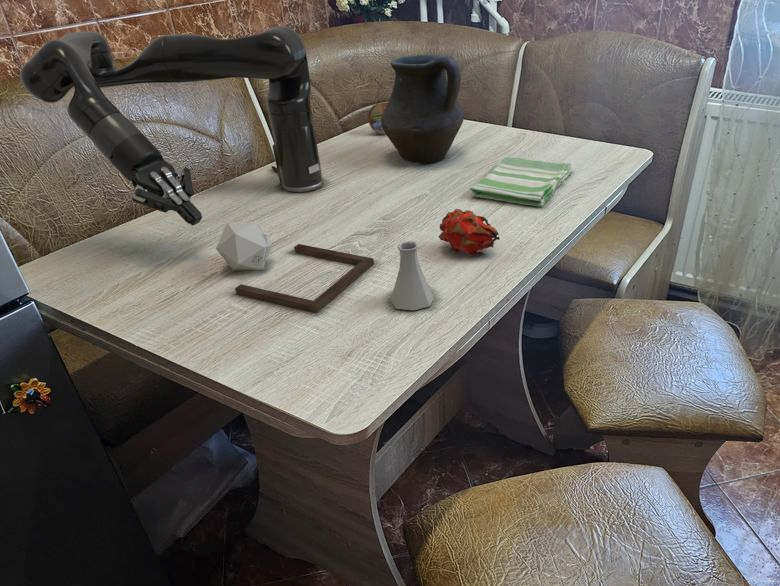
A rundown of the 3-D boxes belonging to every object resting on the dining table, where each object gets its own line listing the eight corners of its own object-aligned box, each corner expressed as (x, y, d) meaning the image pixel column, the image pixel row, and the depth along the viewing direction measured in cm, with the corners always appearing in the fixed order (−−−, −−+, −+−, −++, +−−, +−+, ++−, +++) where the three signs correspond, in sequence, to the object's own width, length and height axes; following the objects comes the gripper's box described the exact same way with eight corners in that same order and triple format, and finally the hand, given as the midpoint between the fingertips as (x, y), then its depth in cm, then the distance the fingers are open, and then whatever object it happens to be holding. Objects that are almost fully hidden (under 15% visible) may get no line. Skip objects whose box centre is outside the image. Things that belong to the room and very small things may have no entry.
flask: (390, 290, 107) (385, 236, 101) (433, 288, 107) (430, 234, 101) (390, 313, 101) (384, 257, 95) (435, 310, 101) (431, 254, 96)
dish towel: (573, 172, 150) (574, 161, 149) (543, 209, 133) (544, 196, 132) (503, 163, 156) (503, 152, 155) (466, 198, 139) (465, 186, 138)
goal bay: (236, 294, 107) (234, 288, 106) (299, 249, 120) (298, 243, 120) (317, 313, 102) (316, 306, 101) (374, 264, 115) (373, 258, 114)
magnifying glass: (372, 137, 177) (369, 105, 172) (368, 134, 179) (365, 103, 174) (421, 128, 183) (419, 98, 178) (416, 125, 185) (414, 95, 180)
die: (248, 286, 111) (272, 236, 108) (201, 260, 109) (225, 209, 107) (262, 279, 119) (286, 232, 117) (219, 255, 118) (242, 208, 115)
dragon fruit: (438, 250, 122) (495, 269, 119) (423, 241, 114) (483, 262, 111) (453, 208, 122) (510, 226, 118) (439, 196, 113) (500, 216, 110)
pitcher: (420, 140, 173) (413, 41, 159) (485, 154, 163) (484, 49, 148) (368, 162, 160) (356, 55, 145) (436, 178, 149) (430, 65, 135)
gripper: (148, 148, 119) (215, 219, 122) (89, 172, 109) (163, 247, 112) (161, 122, 114) (230, 196, 117) (100, 144, 104) (177, 224, 107)
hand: (197, 221), depth 115 cm, fingers closed
